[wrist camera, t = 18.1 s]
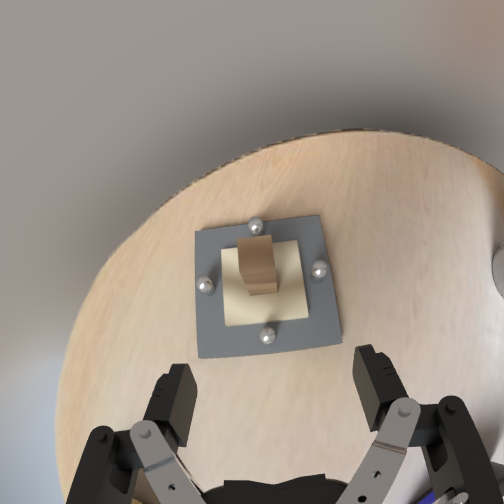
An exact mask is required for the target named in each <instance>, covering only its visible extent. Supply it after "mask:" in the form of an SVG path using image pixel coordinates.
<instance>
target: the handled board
mask: <svg viewBox="0 0 504 504" xmlns="http://www.w3.org/2000/svg"><path fill="white" fill-rule="evenodd" d="M221 260H222V280H223V298H224V315H225V325H226V326H238V325H249V324H258V323H268V322H276V321H284V320H292V319H300V318H307V317H308V316H309V315H308V308H307V301H306V294H305V288H304V281H303V274H302V268H301V262H300V256H299V250H298V244H297V240H293V241H285V242H277V243H272V238H271V235H265V236H257V237H249V238H241V239H237V248H229V249H222V250H221Z"/></svg>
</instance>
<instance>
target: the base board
mask: <svg viewBox="0 0 504 504" xmlns="http://www.w3.org/2000/svg"><path fill="white" fill-rule="evenodd" d="M262 224H263V231H264V236H265V235H271V238H272V243H277V242H285V241H293V240H297V244H298V250H299V256H300V262H301V268H302V274H303V281H304V288H305V294H306V301H307V308H308V315H309V316H308V317H307V318H300V319H292V320H284V321H276V322H268V323H258V324H249V325H238V326H226V325H225V315H224V298H223V280H222V260H221V250H222V249H229V248H237V239H241V238H249V237H251V233H250V229H249V225H248V224H242V225H235V226H228V227H220V228H213V229H206V230H200V231H195V280H196V278H197V277H198V276H199V275H202V274H203V275H206V276H208V278H209V279H210V280H211V281H212V283H213V284H214V285H215V287H216V291H215V293H214V294H213V295H211V296H207V295H205V294H204V293H203V292H202V291H201V290H200V289H199V288H198V287H197V286H196V284H195V295H196V324H197V345H198V358H200V359H208V358H226V357H240V356H251V355H262V354H271V353H280V352H288V351H296V350H304V349H310V348H317V347H323V346H330V345H335V344H340V343H343V342H342V335H341V328H340V322H339V315H338V309H337V303H336V298H335V292H334V286H333V281H332V276H331V270H330V265H329V260H328V255H327V251H326V246H325V241H324V237H323V232H322V228H321V223H320V219H319V215H315V216H306V217H298V218H289V219H281V220H273V221H265V222H262ZM317 260H322V261H324V262H325V263H326V264H327V271H326V274H325V276H324V279H323V280H322V281H321V282H320V283H315V282H313V281H312V280H311V278H310V274H311V270H312V266H313V264H314V262H315V261H317ZM263 327H271V328H272V329H273V330H274V332H275V336H276V340H275V342H274V343H273V344H271V345H266V344H264V343H263V342H262V341H261V340H260V338H259V331H260V330H261V329H262V328H263Z"/></svg>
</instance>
